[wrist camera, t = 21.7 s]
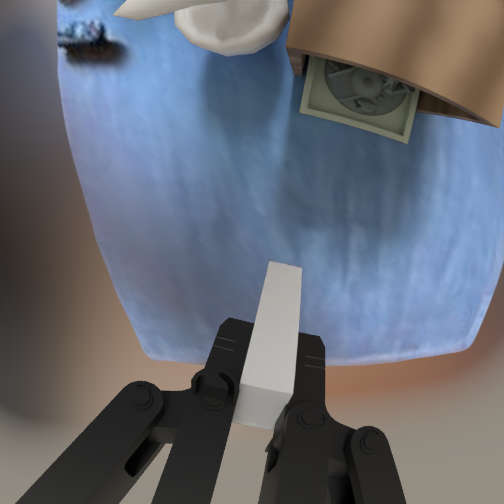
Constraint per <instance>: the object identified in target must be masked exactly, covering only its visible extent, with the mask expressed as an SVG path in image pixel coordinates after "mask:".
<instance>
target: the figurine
mask: <svg viewBox="0 0 504 504" xmlns="http://www.w3.org/2000/svg"><path fill="white" fill-rule="evenodd" d="M324 75H325V80H326V83H327V86H328V88H329V90H330V92H331V93H332V95H333V96H334V97H335V99H336V100H337V101H338V102H339V103H340V104H342V105H343V106H344V107H346V108H347V109H349V110H351V111H353V112H355V113H358V114H362V115H367V116H380V115H384V114H387V113H390V112H392V111H394V110H395V109H396V108H398V107H399V106H400V105H401V103H402V102H403V101H404V99H405V97H406V95H407V93H411V92H415V87H413V86H410V85H408V84H405V83H403V82H400V81H397V80H395V79H392V78H389V77H386V76H384V75H381V74H378V73H375V72H372V71H369V70H365V69H362V68H359V67H356V66H352V65H349V64H345V63H341V62H337V61H334V60H330V59H326V61H325V65H324Z"/></svg>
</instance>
